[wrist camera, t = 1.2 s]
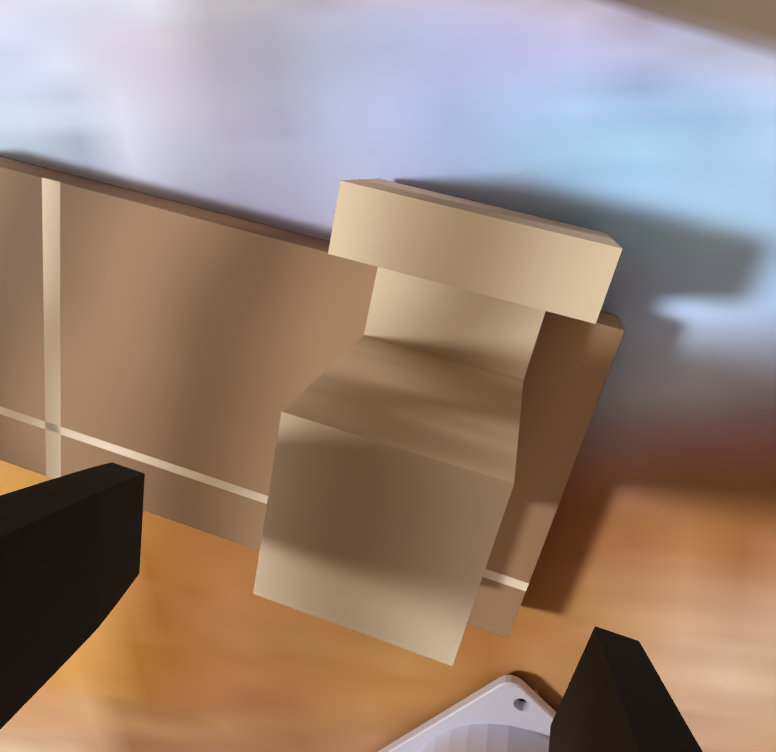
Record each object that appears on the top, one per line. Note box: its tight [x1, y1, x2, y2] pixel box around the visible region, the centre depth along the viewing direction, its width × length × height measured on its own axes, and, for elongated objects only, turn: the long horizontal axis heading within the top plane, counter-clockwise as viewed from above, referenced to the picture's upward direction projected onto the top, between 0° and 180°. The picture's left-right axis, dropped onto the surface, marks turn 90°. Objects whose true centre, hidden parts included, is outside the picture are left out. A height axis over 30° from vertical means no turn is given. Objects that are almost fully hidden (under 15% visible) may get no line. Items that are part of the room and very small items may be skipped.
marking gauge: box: [253, 178, 623, 666], centre depth 14 cm, size 6×11×7 cm, turn 168°
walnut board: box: [0, 156, 625, 638], centre depth 18 cm, size 20×10×2 cm, turn 78°
